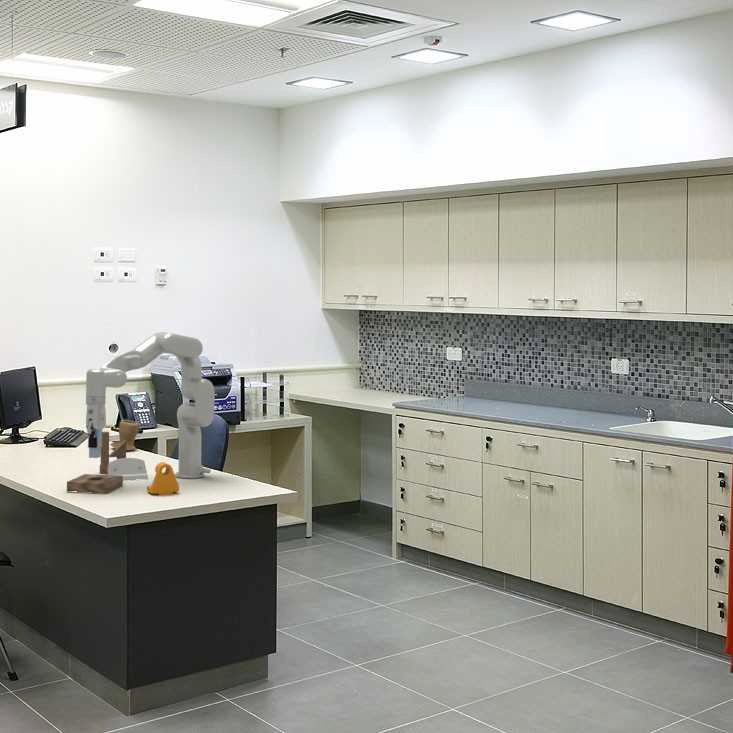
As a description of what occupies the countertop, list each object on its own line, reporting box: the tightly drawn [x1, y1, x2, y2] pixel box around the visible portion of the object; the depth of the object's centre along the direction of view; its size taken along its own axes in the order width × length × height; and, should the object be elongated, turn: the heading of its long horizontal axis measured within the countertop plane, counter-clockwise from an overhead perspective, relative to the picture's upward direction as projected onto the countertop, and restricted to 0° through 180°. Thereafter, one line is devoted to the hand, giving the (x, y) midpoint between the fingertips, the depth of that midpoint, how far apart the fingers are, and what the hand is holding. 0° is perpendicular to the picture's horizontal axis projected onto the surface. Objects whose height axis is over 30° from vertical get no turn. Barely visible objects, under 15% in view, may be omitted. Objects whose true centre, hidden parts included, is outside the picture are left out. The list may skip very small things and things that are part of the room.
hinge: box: [106, 457, 149, 482], centre depth 425 cm, size 17×5×10 cm, turn 118°
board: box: [66, 473, 124, 495], centre depth 402 cm, size 16×18×4 cm
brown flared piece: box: [109, 419, 140, 452], centre depth 504 cm, size 15×12×15 cm
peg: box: [87, 428, 103, 459], centre depth 401 cm, size 4×4×14 cm
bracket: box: [146, 462, 180, 496], centre depth 397 cm, size 11×7×12 cm, turn 121°
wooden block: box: [99, 430, 127, 475], centre depth 438 cm, size 4×11×18 cm, turn 112°
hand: (94, 446), depth 401 cm, fingers closed on peg, 4 cm apart
